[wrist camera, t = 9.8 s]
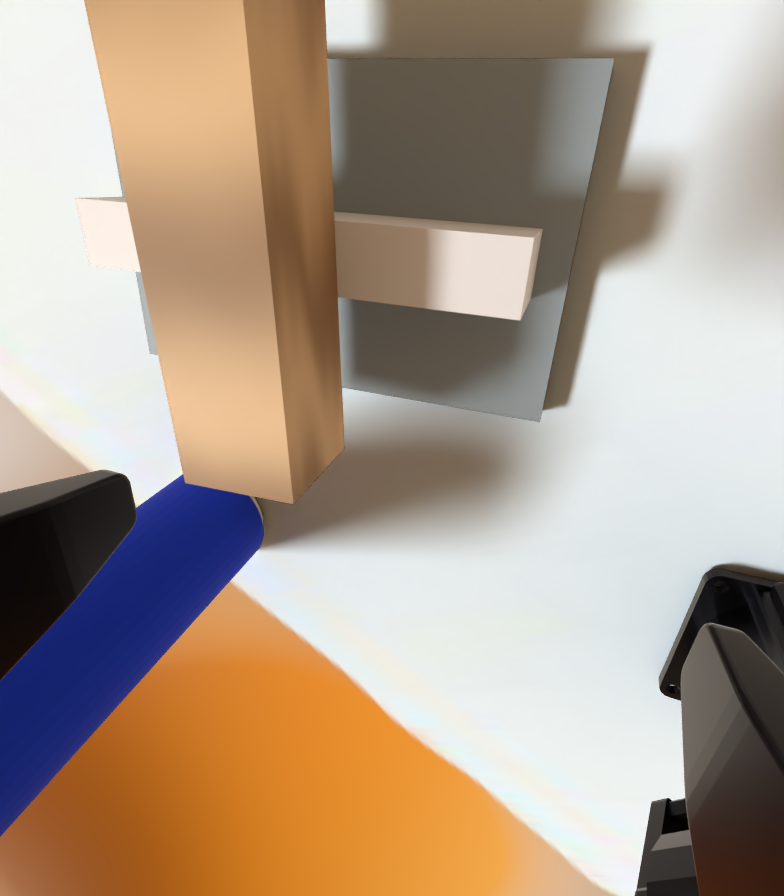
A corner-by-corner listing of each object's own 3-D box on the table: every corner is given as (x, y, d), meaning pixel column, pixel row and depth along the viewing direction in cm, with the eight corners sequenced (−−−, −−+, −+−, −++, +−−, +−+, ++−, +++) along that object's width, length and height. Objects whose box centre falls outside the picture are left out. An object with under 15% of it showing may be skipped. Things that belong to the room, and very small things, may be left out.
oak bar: (344, 448, 17) (293, 504, 14) (251, 433, 18) (184, 482, 15) (322, -34, 11) (232, -109, 9) (190, -17, 12) (67, -80, 10)
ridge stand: (542, 411, 18) (532, 462, 15) (166, 347, 23) (92, 376, 19) (612, 65, 14) (621, 27, 10) (121, 64, 18) (13, 37, 14)
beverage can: (218, 444, 24) (-193, 735, 11) (290, 527, 25) (-18, 884, 12) (163, 492, 27) (-220, 771, 14) (230, 565, 28) (-74, 891, 15)
